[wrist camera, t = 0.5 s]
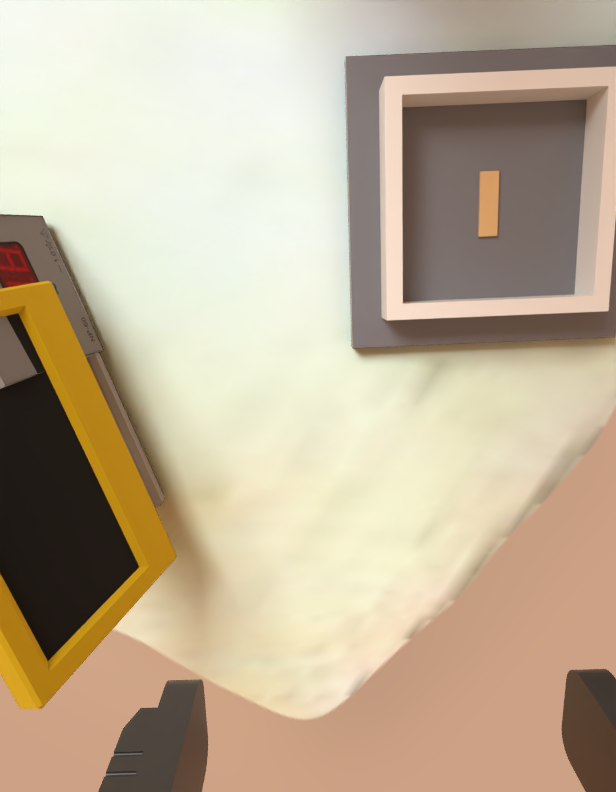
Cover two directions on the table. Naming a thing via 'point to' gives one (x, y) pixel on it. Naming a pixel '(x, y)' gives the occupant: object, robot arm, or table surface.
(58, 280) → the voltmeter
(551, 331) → the tray
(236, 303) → the table surface
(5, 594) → the toy computer monitor
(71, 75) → the table surface
